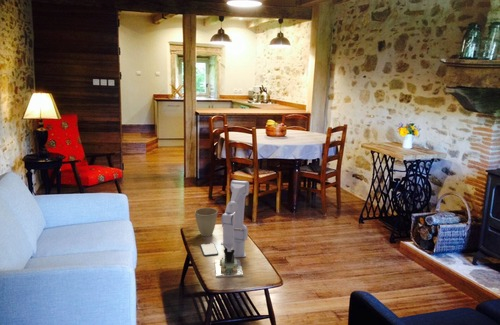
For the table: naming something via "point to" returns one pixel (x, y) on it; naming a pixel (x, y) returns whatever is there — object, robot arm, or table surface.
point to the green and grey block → (229, 264)
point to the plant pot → (206, 220)
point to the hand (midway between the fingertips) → (228, 258)
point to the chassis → (228, 270)
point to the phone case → (209, 249)
